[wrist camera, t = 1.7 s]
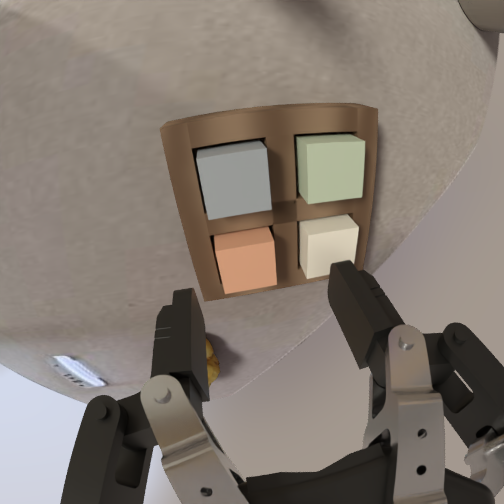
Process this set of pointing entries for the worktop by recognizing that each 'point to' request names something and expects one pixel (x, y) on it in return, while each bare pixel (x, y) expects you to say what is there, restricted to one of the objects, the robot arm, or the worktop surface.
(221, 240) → the key terracotta
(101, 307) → the worktop surface
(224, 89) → the worktop surface
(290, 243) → the keypad
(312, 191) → the key sage
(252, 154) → the key slate
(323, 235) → the key cream
